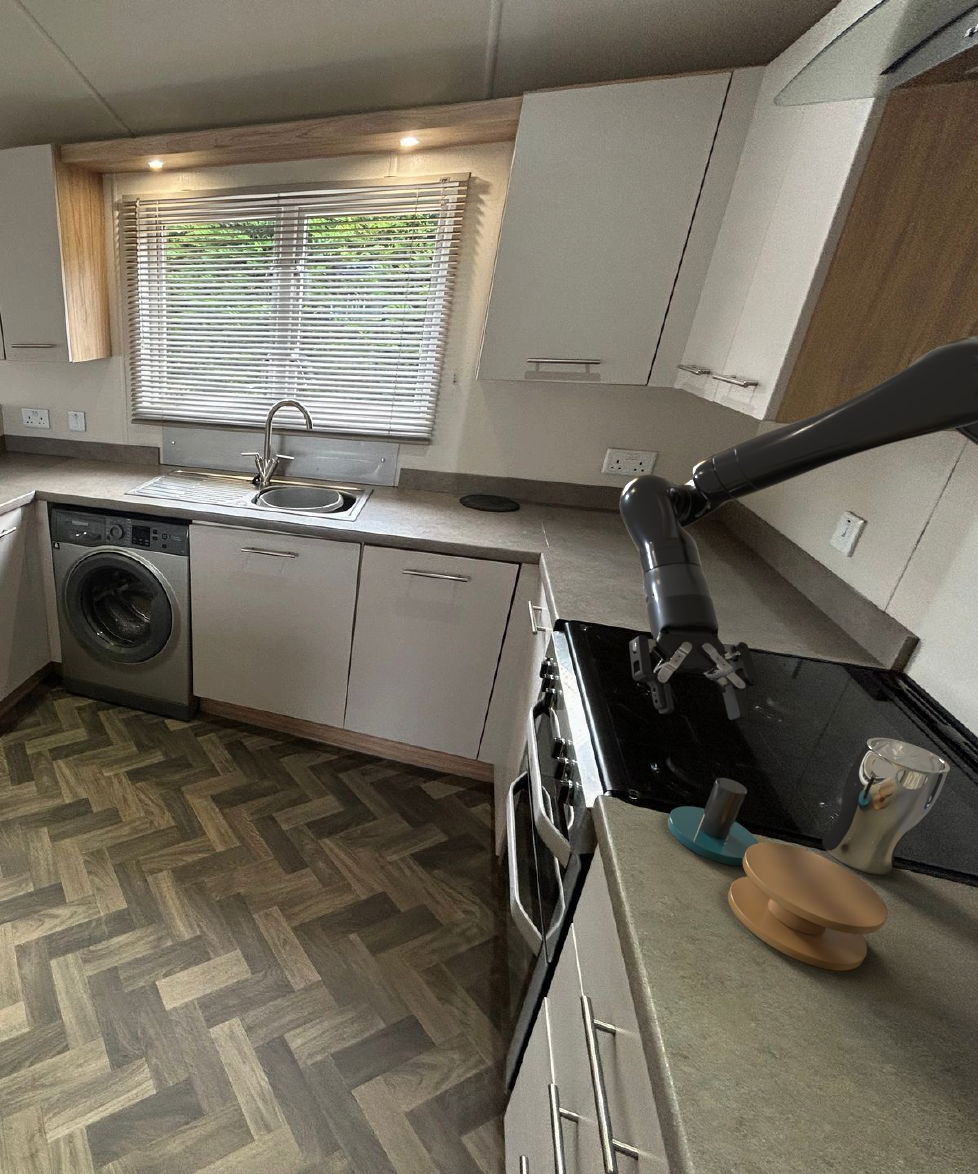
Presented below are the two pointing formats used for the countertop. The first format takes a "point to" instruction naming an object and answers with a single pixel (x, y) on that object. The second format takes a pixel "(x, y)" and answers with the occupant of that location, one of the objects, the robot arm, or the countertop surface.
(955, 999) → the countertop surface
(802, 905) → the stand
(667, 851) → the countertop surface
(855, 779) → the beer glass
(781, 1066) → the countertop surface
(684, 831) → the disc
